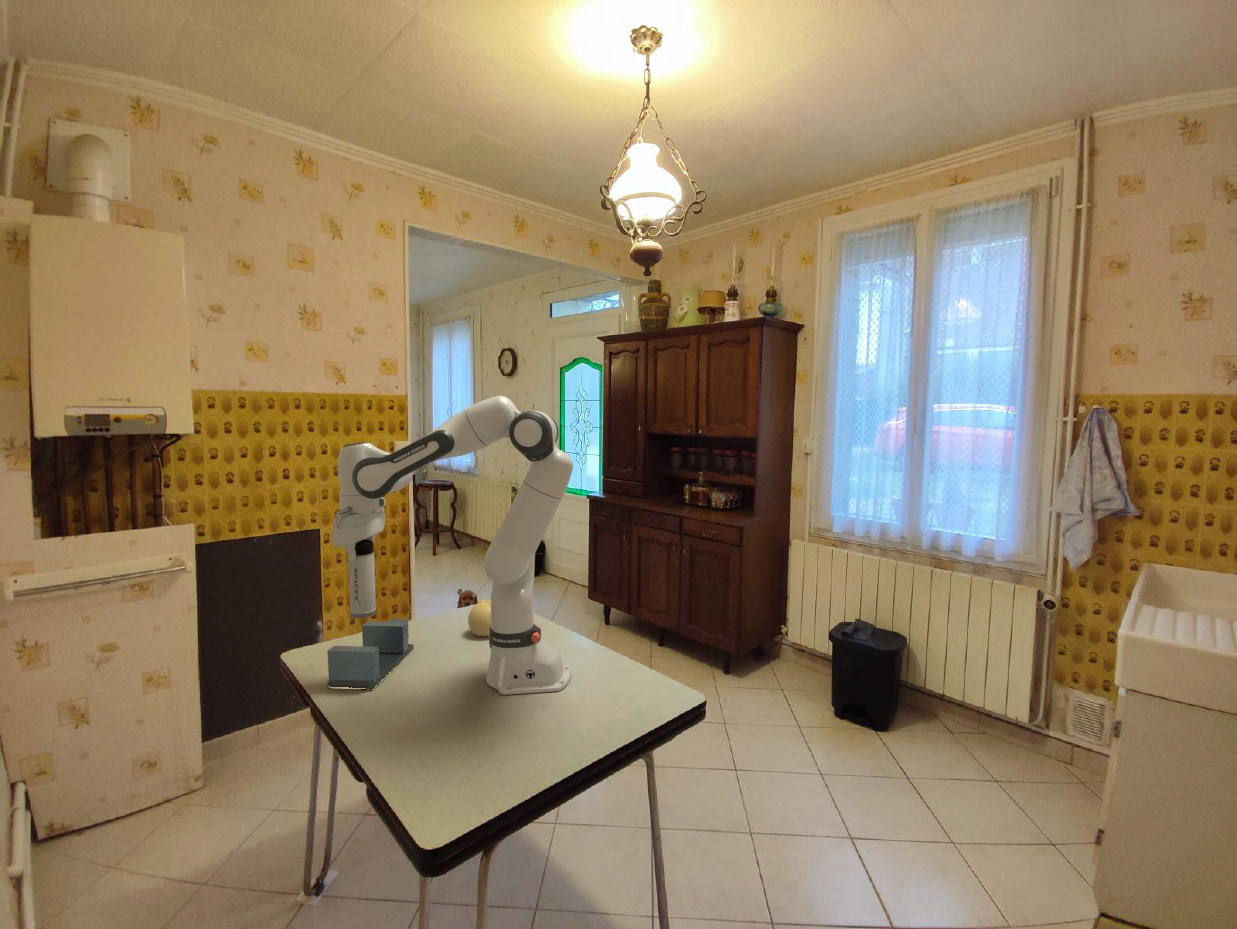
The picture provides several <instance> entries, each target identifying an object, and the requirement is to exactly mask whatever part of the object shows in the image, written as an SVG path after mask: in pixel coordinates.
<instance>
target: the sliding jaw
mask: <svg viewBox="0 0 1237 929" xmlns="http://www.w3.org/2000/svg"><path fill="white" fill-rule="evenodd" d="M361 630H362V633H361V635H362V638H361V639H362V647H379V652H387V653H404V652H405V651H406V650H407V649H408V644H409V637H410V636H409V618H391V619H390V620H388V621H366V622H365V623H363V624H362V626H361Z"/></svg>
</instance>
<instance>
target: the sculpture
mask: <svg viewBox="0 0 1237 929" xmlns="http://www.w3.org/2000/svg"><path fill="white" fill-rule="evenodd" d="M490 599H491V598H490ZM490 599H482V600H479V601H477V603H476V604H475V605H474V606H473V607H471V610H470V611H469V614H468V616H467V617H468V618H467V622H468V627H469V629H470V631H471V632H472V634H474V636H478V637H489V631H490V627H491V601H490Z"/></svg>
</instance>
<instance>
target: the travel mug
mask: <svg viewBox="0 0 1237 929" xmlns="http://www.w3.org/2000/svg"><path fill="white" fill-rule="evenodd" d="M374 543H375V542H374ZM374 543H373V541H371V540H366V539H363V540H361V541H359V542H357V543H355V547H354V548H355V551H356V552H358V558H357V559H356V560H349V559H347V563H348V566H347V567H348V588H349V590H348V591H349V592H348V593H349V610H350V611H349V615H350V617H352V618H353V619H364V618H365V619H366V618H370V617H372V616H375V614H376V613H377V604H376V603H377V602H376V601H377V600H376V599H377V598H376V574H375V573H376V572H375V570H376V569H375V551H374Z"/></svg>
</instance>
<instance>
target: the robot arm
mask: <svg viewBox="0 0 1237 929" xmlns="http://www.w3.org/2000/svg"><path fill="white" fill-rule="evenodd" d="M503 439H509V440H510V443H511V444H512V445H513V447H514V448H515V449H516V450H517V451H518V452H519V453H520V454H522V455H523V456H524V457H525V458H526V459H527V460H528V461H530V464H529V468H528V470H527V473H526V475H525V476H524V478H523V480H522V483H521V485H520V487H519V489H518V491H517V493H516V495H515V496H514V499H513V501H512V502H511V506H510V507H509V509H508V511H507V513H506V514H505V516H504V518H503V520H502V522H501V524H500V525H499V528H498V529H497V531H496V533H495V535H494V537H493V539H492V541H491V543H490V544H489V546H488V548H487V551H486V553H485V556H484V561H483V567H484V572H485V574H486V576H487V577H488V579H490V580H491V581H492V584H491V585H492V587H491V593H490V601H491V627H490V631H489V636H488V644H489V648H490V656H489V663H488V664H489V665H488V670H487V673H486V676H485V682H486V683H487V685H488V686H489V687H490V688H493V689H495V690H497V691H498V693H499V694H500V695H503V696H504V695H516V694H517V695H519V694H522V695H523V694H533V693H551V692H560V691H562V690H563V689H565V687H567V686H568V684H569V682H570V680H571V678H572V669H571V667H570V666H569V665H568V664H567V663H563V658H562V654H561V652H560V650H559V649H558V648H557V647H555V646H553V644H551V643H549V642H548V641H546V640H545V639H544V638H542V625H539V626H537V625H536V624H535V623H534V587H535V586H534V585H535V584H534V583H535V567H536V566H535V563H536V562H535V561H536V560H535V559H536V552H537V550H538V547H539V546H540V543H541V542H542V539H543V538H544V536H545V534H546V532H547V530H548V528H549V526H550V524H551V522H552V519H553V518H554V516H555V513H556V511H557V510H558V508H559V505H560V503H561V502H562V499H563V497H564V495H565V493H566V491H567V489H568V486H569V484H570V479H571V476H572V474H573V469H574V463H573V460H572V458H571V457H570V456H569V455H568V454H567V453H566V452H564V451H563V450H562V449H559V447H557V441H558V439H559V427H558V424H557V423H556V421H555V419H554V418H553V417H551V416H550V415H548V414H547V413H545V412H543V411H539V410H526V411H523V412H522V411H519V410H518V408H517V406H516V405H515V404H514V402H513V401H512V400H511V399H510V398H508V397H506V396H504V395H496V396H493V397H489V398H486V399H483V400H481V401H479V402H476V403H474V404H472V405H469V406H468V407H466V408H464V409H462V410H461V411H459V412H458V413H455V414H454V415H452V416H451V417H450V418H448V419H447V420H446V421H444V422H443V423H442V424H440V425H439V426H438V427H436V428H435V429H433V430H432V431H430V432H429V433H428V434H426V435H425V436H423V437H421V438H420V439H417V440H416V441H413V442H412V443H410V444H408V445H406V446H404V447H402V448H399V449H398V450H396V451H394V452H391V453H390V452H387V451H385V450H383V449H381V448H378V447H376V446H375V445H374V444H373V443H371V442H368V441H363V442H362V441H361V442H356V443H350V444H345V445H343V446H342V447H341V448H340V450H339V452H338V458H337V459H338V460H337V476H338V477H337V478H338V480H339V484H340V488H339V492H338V495H339V497H338V498H339V510H338V511H337V513H336V515H335V517H334V518H333V521H332V532H331V539H332V540H331V541H332V545H333V547H335V548H344V549H345V551H346V553H347V558H348V559H349V560H356V559H357V558H358V552H356V551H355V548H354V547H355V543H357V542H359V541H361V540H363V539H366V540H371V541H373V543H375V539H376V535H378V534H379V533H382V532H383V531H384V529H385V524H386V514H385V513H386V511H385V506H386V498H384V496H386V495H388V494H391V493H394V492H397V491H400V490H402V489H404V488H405V487H407V486H409V484H410V483H411V482H412V480H413V476H414V472H415V471H417V470H419V469H422V468H424V467H425V466H427V465H429V464H431V463H435V462H438V461H442V460H445V459H446V460H447V459H451V458H455V457H462V456H467V455H469V454H472V453H475V452H478V451H480V450H482V449H485V448H486V447H489V446H490V445H492V444H493V443H495V442H498V441H500V440H503ZM348 559H347V560H348Z"/></svg>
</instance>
